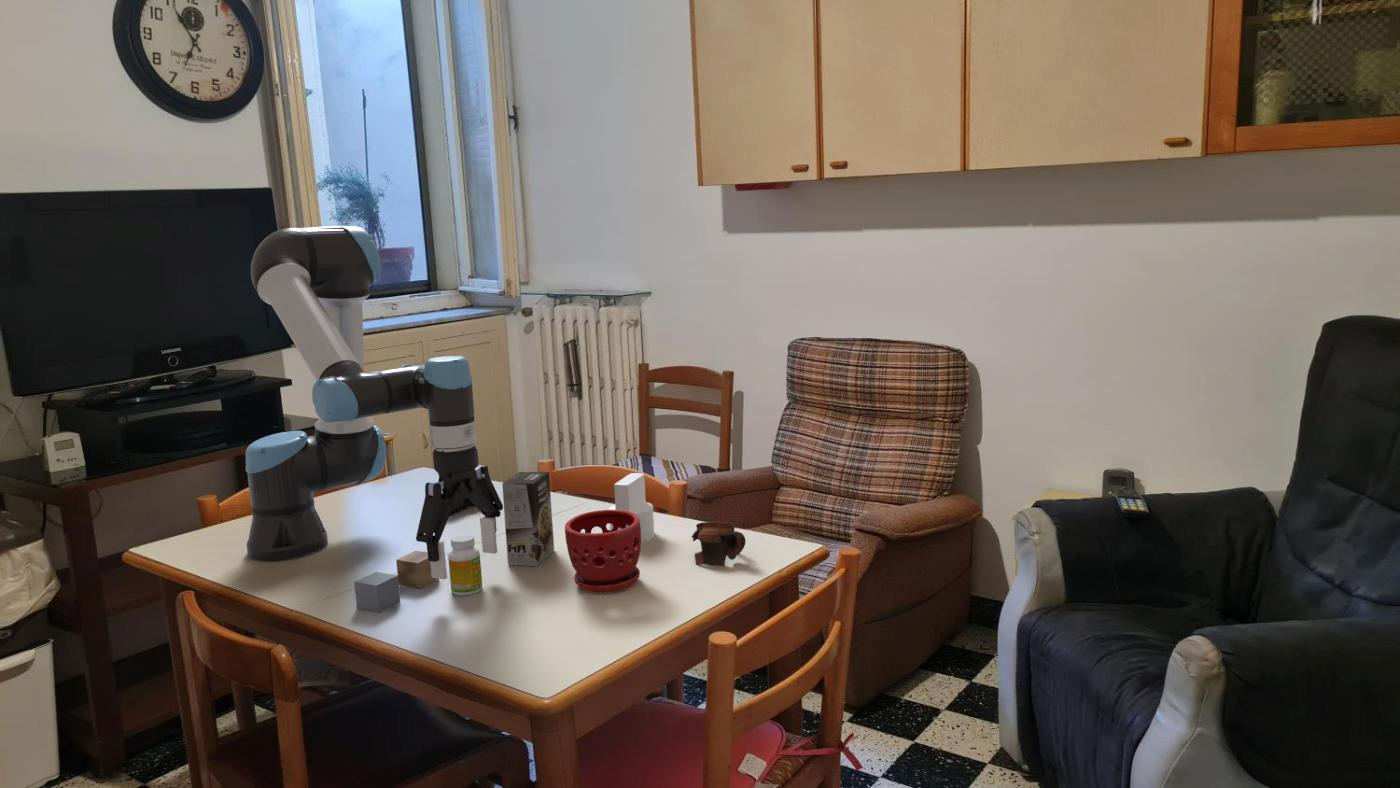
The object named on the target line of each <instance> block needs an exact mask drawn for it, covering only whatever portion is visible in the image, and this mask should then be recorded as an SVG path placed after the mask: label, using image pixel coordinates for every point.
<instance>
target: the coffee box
mask: <svg viewBox="0 0 1400 788" xmlns="http://www.w3.org/2000/svg"><path fill="white" fill-rule="evenodd" d="M551 496H552V495H551V481H550V472H549V471H519V472H518V473H516V474H515V475H513V476H512V477H510V478H508V479H507V480H506V481H504V482H502V497H503V510H504V511H503V512H504V513H503V514H504V525H505V526H504V528H505V540H506V541H505V542H506V557H507V565H508V566H526V567H527V566H528V567H538V566H539V565H541V564H542V562H544V560H546V559H547V558H548V557H549V556H550V555H551V554H552V553H553V552H554V551H555V542H554V541H555V539H554V528H553V527H554V526H553V512H552V510H553V509H552V498H551Z"/></svg>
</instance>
